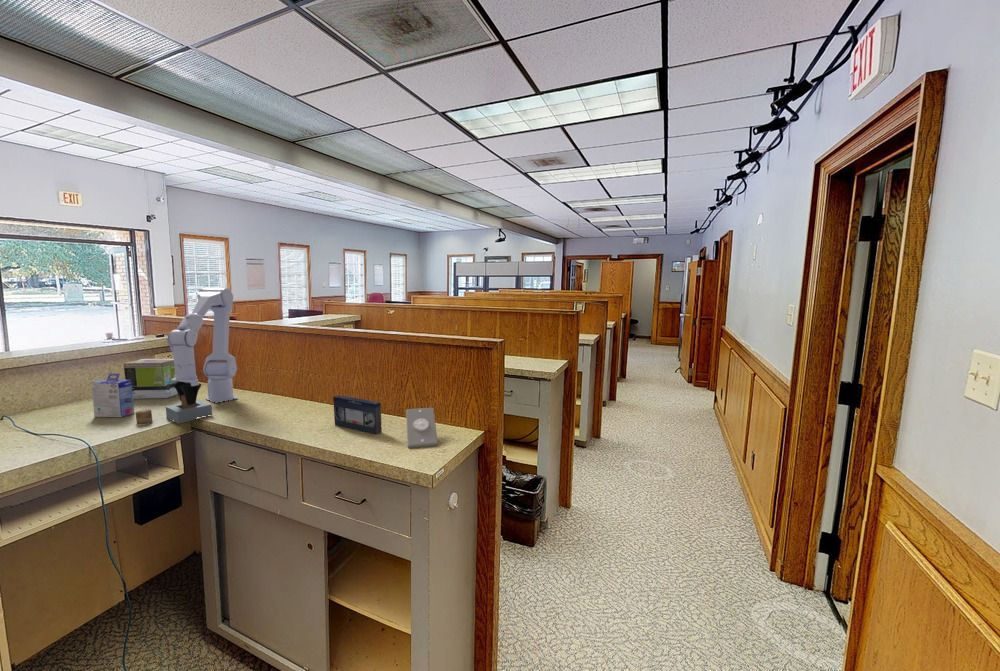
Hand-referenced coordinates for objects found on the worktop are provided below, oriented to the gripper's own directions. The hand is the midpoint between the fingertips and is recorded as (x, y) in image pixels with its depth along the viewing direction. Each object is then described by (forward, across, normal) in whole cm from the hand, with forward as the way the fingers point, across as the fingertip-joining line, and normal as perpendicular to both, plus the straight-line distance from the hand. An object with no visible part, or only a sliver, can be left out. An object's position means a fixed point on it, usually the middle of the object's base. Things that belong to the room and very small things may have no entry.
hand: (188, 403), depth 144 cm
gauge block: (+5, 0, 0) cm, 5 cm away
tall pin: (+5, 0, 0) cm, 5 cm away
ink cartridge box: (+5, -23, -14) cm, 27 cm away
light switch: (+5, +80, +32) cm, 86 cm away
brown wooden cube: (+5, -5, -11) cm, 13 cm away
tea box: (+5, -41, +3) cm, 41 cm away
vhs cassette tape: (+5, +57, +26) cm, 63 cm away
